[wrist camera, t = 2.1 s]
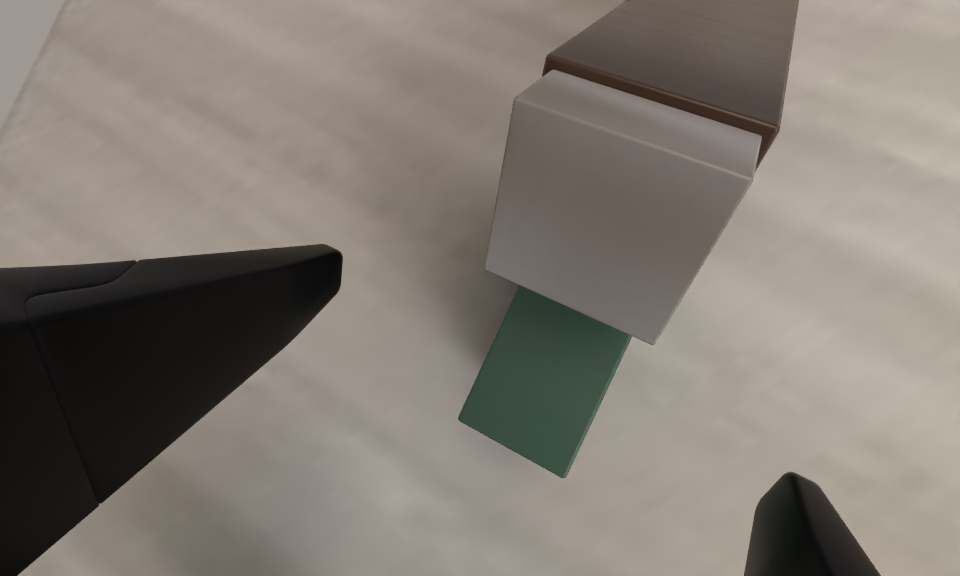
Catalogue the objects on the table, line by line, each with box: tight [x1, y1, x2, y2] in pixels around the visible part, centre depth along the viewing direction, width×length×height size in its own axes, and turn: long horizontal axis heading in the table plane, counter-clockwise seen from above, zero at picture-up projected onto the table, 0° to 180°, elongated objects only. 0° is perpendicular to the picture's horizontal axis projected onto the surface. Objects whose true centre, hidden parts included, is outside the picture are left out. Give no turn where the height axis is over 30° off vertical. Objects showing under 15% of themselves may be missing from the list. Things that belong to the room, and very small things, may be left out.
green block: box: [458, 285, 632, 478], centre depth 17 cm, size 7×3×7 cm, turn 154°
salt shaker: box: [485, 0, 799, 345], centre depth 14 cm, size 13×4×13 cm, turn 154°
